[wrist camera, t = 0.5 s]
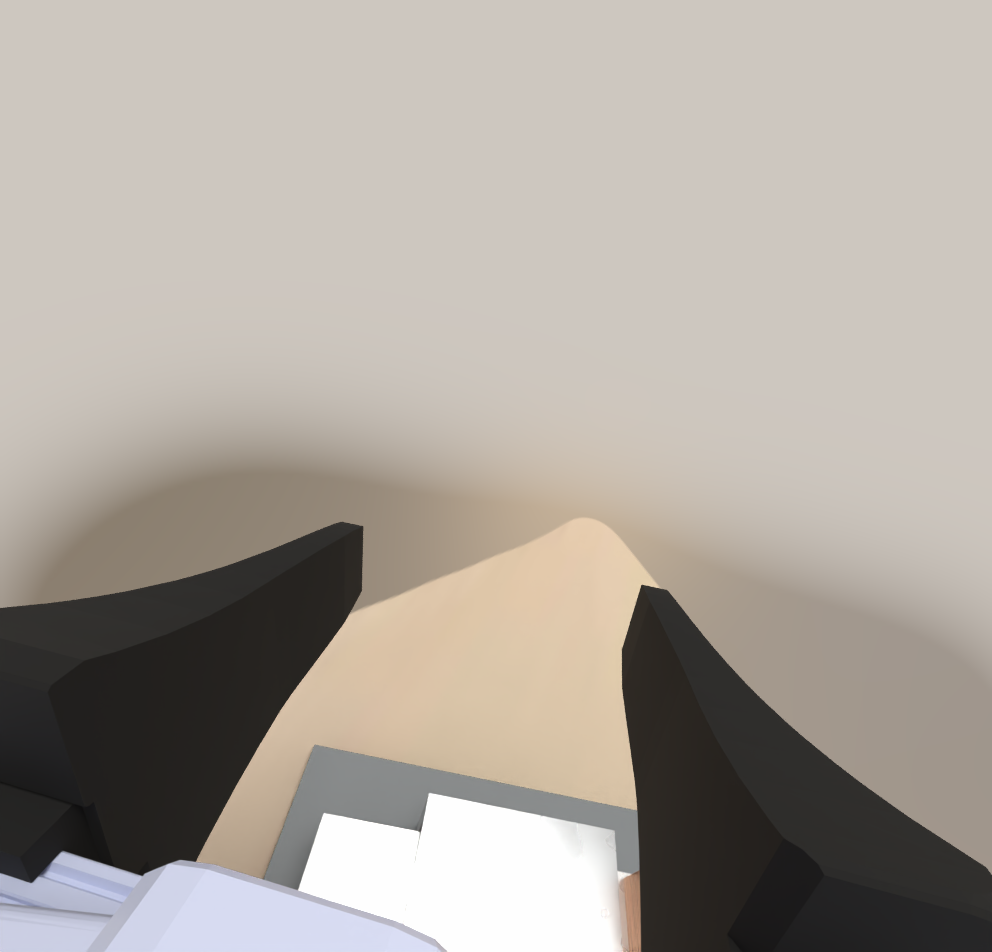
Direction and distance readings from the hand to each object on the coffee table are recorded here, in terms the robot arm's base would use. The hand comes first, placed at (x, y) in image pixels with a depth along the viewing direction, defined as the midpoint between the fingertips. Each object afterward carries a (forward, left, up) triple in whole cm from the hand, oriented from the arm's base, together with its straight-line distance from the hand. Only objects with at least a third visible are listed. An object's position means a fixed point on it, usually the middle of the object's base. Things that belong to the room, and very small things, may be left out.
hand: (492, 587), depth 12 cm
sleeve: (-4, -4, -19) cm, 20 cm away
